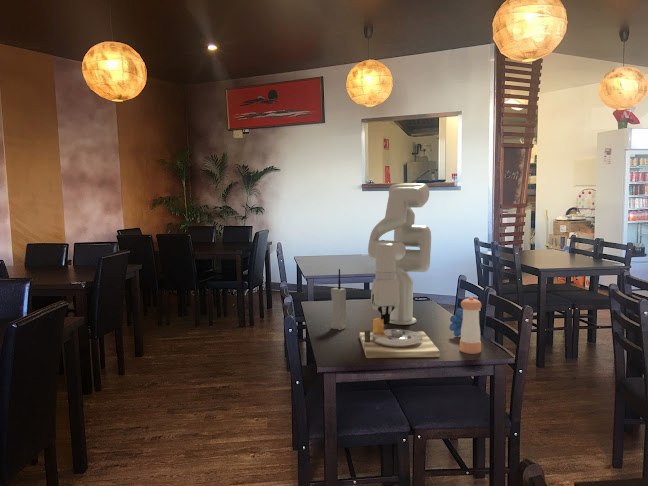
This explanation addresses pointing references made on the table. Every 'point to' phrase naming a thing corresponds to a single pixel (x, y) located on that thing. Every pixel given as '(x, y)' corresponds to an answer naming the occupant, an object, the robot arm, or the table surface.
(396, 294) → the robot arm
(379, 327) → the flange
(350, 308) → the table surface
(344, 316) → the vintage mobile phone
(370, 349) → the base board
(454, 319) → the grapes
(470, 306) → the pepper shaker
